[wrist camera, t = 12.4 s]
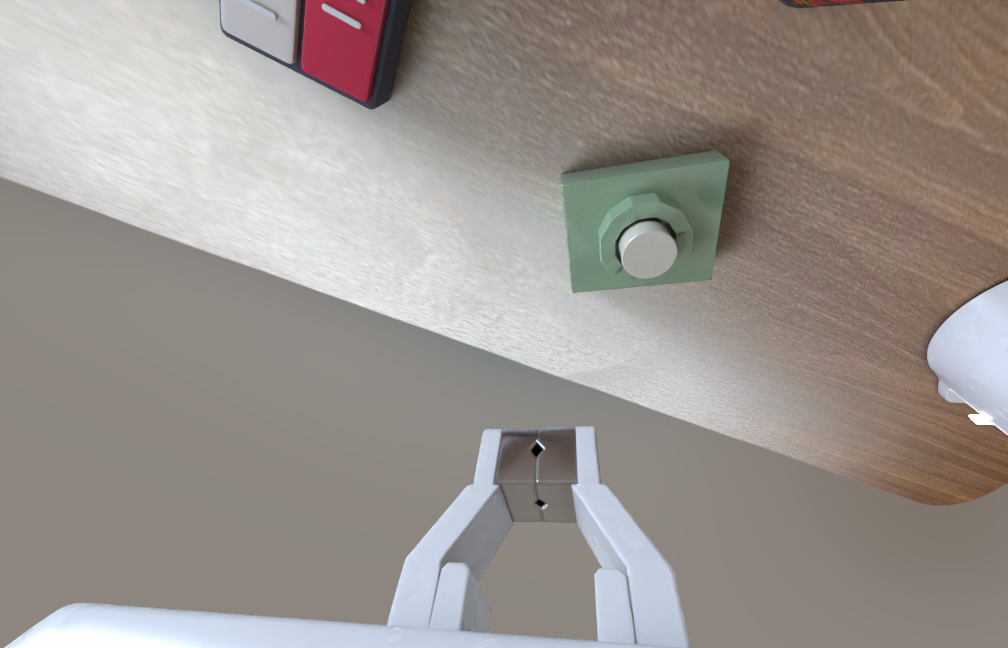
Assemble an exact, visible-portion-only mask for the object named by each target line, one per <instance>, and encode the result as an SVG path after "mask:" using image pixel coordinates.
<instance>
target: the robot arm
mask: <svg viewBox="0 0 1008 648" xmlns="http://www.w3.org/2000/svg"><path fill="white" fill-rule="evenodd" d="M927 361H928V364H929V366H930V368H931V369H932V370H933V371H934V373H935V374H936V375H937V376H938V378H939V385H938V393H939V395H941V396H942V397H943V398H944V399H946V400H947V401H949V402H953V403H967V404H968V405H970V406H971V407H972V408H973V409H975V410H976V411H977V412H978V413H980V414H981V415H975V414H970V415H969V416H968V417H969V418H970V419H971V420H973V421H974V422H975V423H976V424H994V425H995V426H996V427H998V428H999V429H1000V430H1001V431H1003V432H1004V433H1005V434H1007V435H1008V281H1006V282H1003V283H1001V284H999V285H997V286H995V287H993V288H991V289H989V290H987V291H985V292H984V293H982V294H980V295H979V296H977V297H975V298H974V299H972V300H971V301H969V302H968V303H966V304H965V305H964V306H962V307H961V308H960V309H958V310H957V311H956V312H955V313H953V314H952V315H951V316H950V317H949V318H948V319H947V320H946V321H945V322H944V323H943V324H942V325H941V326H940V328H939V329H938V330H937V331H936V333H935V334H934V336H933V338H932V339H931V341H930V344H929V346H928V350H927ZM513 522H561V523H577V525H578V527H579V529H580V531H581V532H582V534H583V536H584V537H585V539H586V540H587V542H588V544H589V546H590V548H591V549H592V551H593V552H594V554H595V556H596V558H597V559H598V561H599V563H600V564H601V566H602V568H603V569H599V570H598V571H597V572H596V574H595V593H596V610H597V627H598V641H588V640H575V639H562V638H549V637H534V636H522V635H509V634H495V633H489V628H490V618H491V607H490V605H489V604H488V602H487V600H486V598H485V596H484V594H483V593H482V591H481V589H480V587H479V585H478V583H477V582H478V581H479V579H480V577H481V576H482V574H483V573H484V571H485V569H486V568H487V566H488V565H489V563H490V561H491V560H492V558H493V556H494V555H495V553H496V551H497V550H498V548H499V546H500V545H501V543H502V542H503V540H504V538H505V536H506V535H507V534H508V532H509V530H510V529H511V527H512V525H513ZM5 648H691V647H690V642H689V638H688V633H687V629H686V624H685V619H684V615H683V610H682V606H681V601H680V597H679V592H678V587H677V583H676V578H675V574H674V570H673V568H672V567H671V566H670V565H669V563H668V562H667V561H666V559H665V558H664V557H663V556H662V554H661V553H660V552H659V550H658V549H657V548H656V547H655V545H654V544H653V543H652V541H651V540H650V539H649V538H648V536H647V535H646V534H645V533H644V532H643V530H642V529H641V528H640V526H639V525H638V524H637V522H636V521H635V520H634V519H633V517H632V516H631V515H630V513H629V512H628V511H627V509H626V508H625V507H624V506H623V505H622V503H621V502H620V501H619V499H618V498H617V497H616V495H615V494H614V493H613V492H612V490H611V489H610V488H609V486H608V485H602V484H601V477H600V467H599V457H598V448H597V438H596V429H595V426H589V427H576V429H575V426H574V427H553V428H539V429H485V431H484V433H483V435H482V440H481V446H480V451H479V457H478V462H477V468H476V474H475V479H474V484H473V485H468V486H467V487H466V488H465V489H464V490H463V492H462V493H461V494H460V495H459V496H458V497H457V499H456V500H455V501H454V502H453V503H452V504H451V506H450V507H449V508H448V509H447V510H446V512H445V513H444V514H443V515H442V516H441V517H440V519H439V520H438V521H437V522H436V523H435V525H434V526H433V527H432V528H431V529H430V530H429V532H428V533H427V534H426V535H425V536H424V538H423V539H422V540H421V541H420V542H419V543H418V545H417V546H416V547H415V548H414V549H413V551H412V552H411V553H410V554H409V555H408V556H407V558H406V559H405V562H404V566H403V569H402V573H401V576H400V580H399V583H398V587H397V590H396V594H395V598H394V601H393V604H392V608H391V612H390V615H389V618H388V622H387V625H375V624H362V623H349V622H348V623H347V622H334V621H321V620H308V619H295V618H282V617H269V616H255V615H241V614H229V613H228V614H227V613H215V612H202V611H188V610H175V609H162V608H149V607H135V606H122V605H109V604H95V603H76V604H71V605H68V606H65V607H63V608H61V609H59V610H57V611H56V612H54V613H53V614H51V615H50V616H48V617H47V618H45V619H43V620H42V621H40V622H39V623H38V624H36V625H35V626H33V627H32V628H31V629H29V630H28V631H27V632H25V633H24V634H22V635H21V636H20V637H18V638H17V639H16V640H14V641H13V642H11V643H10V644H9V645H7V646H6V647H5Z"/></svg>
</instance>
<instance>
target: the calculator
mask: <svg viewBox="0 0 1008 648" xmlns="http://www.w3.org/2000/svg"><path fill="white" fill-rule="evenodd" d="M410 3H411V0H219V4H220V25H221V29H222V32H223V33H224V34H225V35H226V36H227V37H229V38H231V39H233V40H235V41H237V42H239V43H241V44H243V45H245V46H247V47H248V48H250V49H252V50H254V51H256V52H258V53H260V54H262V55H264V56H266V57H268V58H270V59H272V60H274V61H276V62H278V63H280V64H282V65H284V66H286V67H288V68H290V69H292V70H294V71H296V72H298V73H300V74H302V75H303V76H305V77H307V78H309V79H311V80H313V81H315V82H317V83H319V84H321V85H323V86H325V87H327V88H329V89H331V90H333V91H335V92H337V93H339V94H341V95H343V96H345V97H347V98H349V99H351V100H353V101H355V102H356V103H358V104H360V105H362V106H364V107H366V108H368V109H375V108H377V107H379V106H380V105H382V104H384V103H386V102H387V101H388V100H389V98H390V94H391V89H392V85H393V80H394V76H395V71H396V67H397V62H398V58H399V53H400V48H401V44H402V39H403V35H404V30H405V26H406V21H407V16H408V12H409V7H410Z"/></svg>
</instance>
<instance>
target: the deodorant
mask: <svg viewBox="0 0 1008 648" xmlns="http://www.w3.org/2000/svg"><path fill="white" fill-rule="evenodd" d="M779 1H781V2H782V3H784V4H785V5H787V6H790V7H796V8H809V7H822V6H836V5H849V4H863V3H876V2H890V1H903V0H779Z"/></svg>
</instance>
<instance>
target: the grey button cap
mask: <svg viewBox="0 0 1008 648" xmlns="http://www.w3.org/2000/svg"><path fill="white" fill-rule="evenodd" d="M618 250H619V254H620V258H621V261H622V265H623V267H624V269H625V270H626V271H627V272H628V273H629V274H630V275H632V276H634V277H637V278H641V279H649V278H654V277H657V276H659V275H661V274H663V273H665V272H666V271H667V270H668V269H669V268H670V267H671V266H672V265H673V263H674V262H675V260H676V257H677V252H678V249H677V244H676V242H675V240H674V238H673V236H672V235H671V233H670V231H669V229H668V228H667V227H666V226H665V225H664V224H662V223H660V222H658V221H653V220H645V221H640V222H637V223H635V224H633V225H631V226H630V227H629V228H628V229H627V230H626V231H625V232H624V233H623V234H622V236H621V238H620V240H619V244H618Z"/></svg>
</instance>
